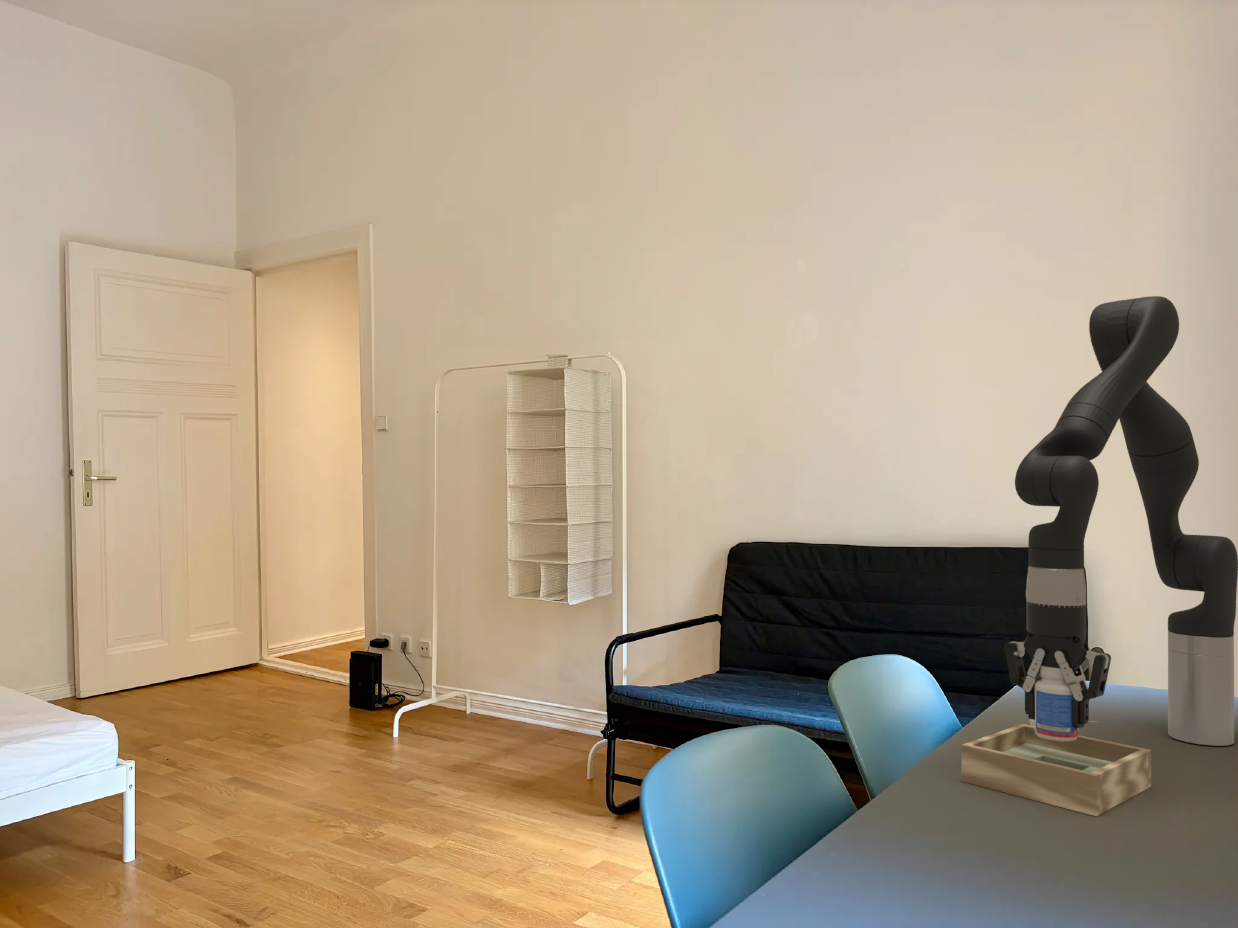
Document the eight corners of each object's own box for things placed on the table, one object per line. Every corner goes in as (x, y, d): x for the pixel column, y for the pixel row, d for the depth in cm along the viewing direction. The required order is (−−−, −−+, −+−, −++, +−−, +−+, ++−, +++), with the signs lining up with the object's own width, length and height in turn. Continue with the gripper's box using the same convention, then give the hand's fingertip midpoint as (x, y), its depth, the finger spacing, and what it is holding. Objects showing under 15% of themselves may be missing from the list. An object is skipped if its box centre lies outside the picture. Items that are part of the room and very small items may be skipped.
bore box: (1022, 756, 142) (1022, 723, 142) (1151, 786, 129) (1151, 749, 129) (961, 780, 130) (961, 744, 130) (1096, 816, 117) (1096, 775, 117)
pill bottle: (1082, 743, 126) (1082, 670, 127) (1040, 741, 127) (1039, 668, 128) (1071, 733, 132) (1071, 663, 132) (1030, 730, 133) (1030, 661, 133)
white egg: (1029, 747, 148) (1029, 700, 148) (1028, 735, 155) (1028, 690, 155) (1101, 754, 144) (1101, 706, 144) (1096, 742, 151) (1096, 696, 151)
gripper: (1121, 603, 127) (1122, 728, 127) (1017, 593, 138) (1017, 708, 138) (1099, 607, 122) (1099, 738, 122) (992, 596, 133) (992, 717, 133)
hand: (1055, 722), depth 130 cm, fingers closed on pill bottle, 5 cm apart
